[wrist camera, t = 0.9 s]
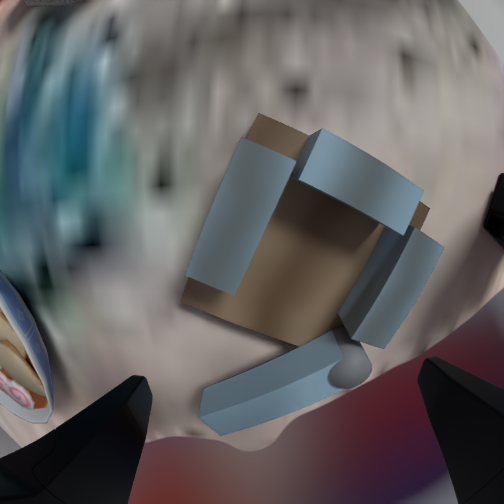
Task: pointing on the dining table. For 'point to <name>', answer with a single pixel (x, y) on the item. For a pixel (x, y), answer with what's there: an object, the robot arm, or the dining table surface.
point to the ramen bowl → (22, 360)
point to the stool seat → (311, 240)
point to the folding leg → (286, 383)
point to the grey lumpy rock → (49, 2)
